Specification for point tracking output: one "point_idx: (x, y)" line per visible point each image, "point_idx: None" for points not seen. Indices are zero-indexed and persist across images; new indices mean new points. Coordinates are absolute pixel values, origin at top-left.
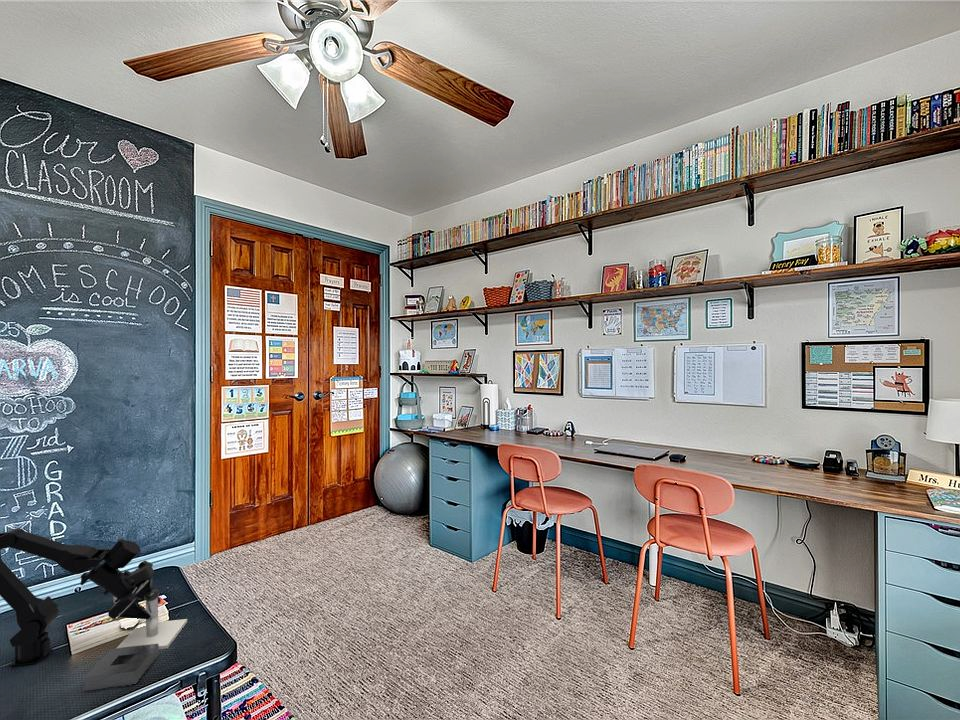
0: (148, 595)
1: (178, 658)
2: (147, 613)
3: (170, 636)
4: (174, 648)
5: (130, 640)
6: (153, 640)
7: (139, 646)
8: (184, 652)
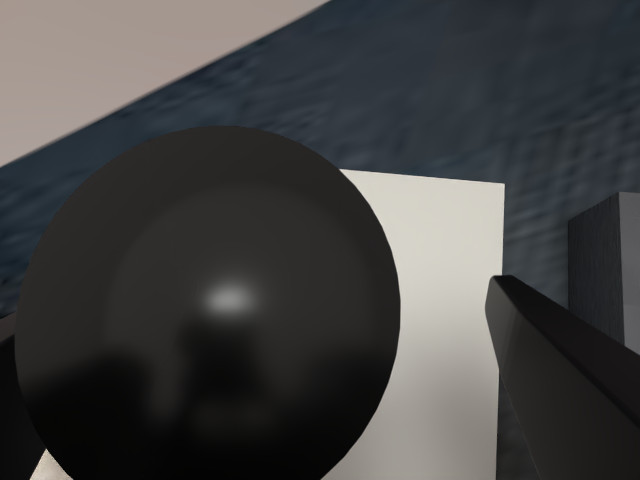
0: (394, 340)
1: (625, 97)
2: (548, 303)
3: (391, 196)
4: (503, 151)
5: (359, 475)
6: (412, 295)
7: (638, 329)
8: (564, 83)
